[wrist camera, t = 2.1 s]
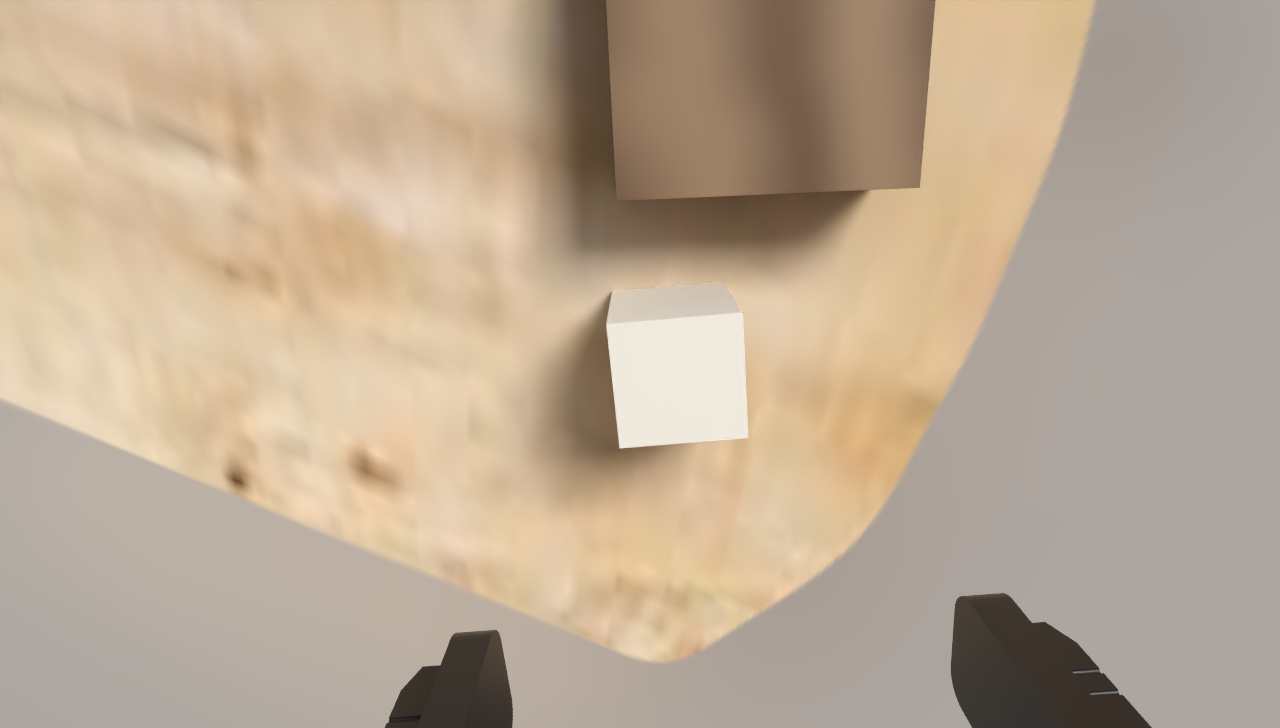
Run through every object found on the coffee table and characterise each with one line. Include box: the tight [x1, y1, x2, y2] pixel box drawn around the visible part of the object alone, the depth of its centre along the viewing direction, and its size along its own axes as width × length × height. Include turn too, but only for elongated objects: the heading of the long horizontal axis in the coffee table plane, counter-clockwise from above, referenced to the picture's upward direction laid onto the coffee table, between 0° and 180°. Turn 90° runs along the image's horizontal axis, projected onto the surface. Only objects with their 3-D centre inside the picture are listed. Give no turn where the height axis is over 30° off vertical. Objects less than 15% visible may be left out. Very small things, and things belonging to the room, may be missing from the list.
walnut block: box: [606, 0, 935, 201], centre depth 25 cm, size 11×11×5 cm
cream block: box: [606, 281, 748, 448], centre depth 28 cm, size 5×5×6 cm
